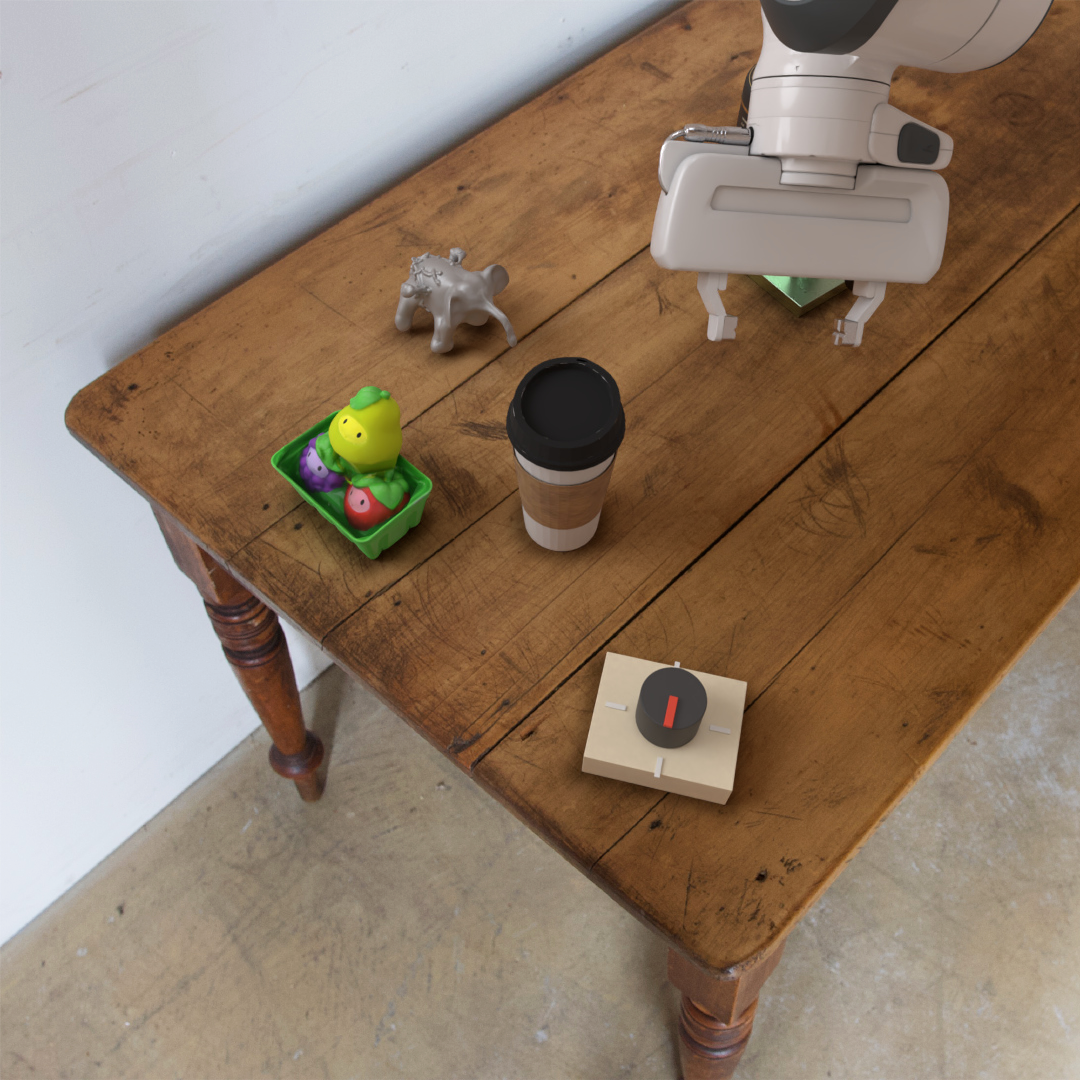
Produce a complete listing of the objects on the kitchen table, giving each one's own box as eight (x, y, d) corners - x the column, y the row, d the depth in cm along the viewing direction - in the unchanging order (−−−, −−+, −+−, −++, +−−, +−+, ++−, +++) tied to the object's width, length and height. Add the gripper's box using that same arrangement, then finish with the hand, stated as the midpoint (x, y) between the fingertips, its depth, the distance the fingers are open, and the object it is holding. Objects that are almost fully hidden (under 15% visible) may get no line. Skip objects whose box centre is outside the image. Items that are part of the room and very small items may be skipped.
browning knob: (642, 681, 69) (648, 657, 66) (704, 696, 69) (713, 673, 65) (629, 739, 67) (634, 717, 64) (693, 756, 66) (701, 734, 63)
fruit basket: (278, 496, 81) (245, 406, 71) (361, 435, 84) (340, 342, 75) (370, 581, 77) (348, 497, 67) (453, 513, 80) (443, 424, 71)
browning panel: (740, 695, 72) (748, 677, 69) (724, 809, 68) (732, 794, 65) (605, 665, 73) (608, 646, 71) (580, 775, 69) (582, 759, 66)
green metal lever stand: (872, 273, 96) (920, 149, 84) (797, 318, 92) (836, 195, 81) (785, 206, 101) (818, 80, 89) (711, 246, 97) (736, 121, 86)
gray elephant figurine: (428, 283, 94) (420, 217, 88) (545, 317, 92) (547, 252, 86) (384, 350, 90) (373, 286, 83) (507, 387, 87) (505, 325, 81)
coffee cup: (625, 493, 81) (642, 368, 69) (596, 577, 77) (609, 461, 64) (527, 467, 83) (527, 340, 70) (494, 549, 78) (487, 430, 66)
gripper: (677, 117, 61) (655, 344, 65) (977, 142, 65) (936, 355, 69) (649, 123, 67) (630, 331, 71) (925, 146, 71) (891, 342, 75)
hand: (783, 343), depth 70 cm, fingers open, 8 cm apart
